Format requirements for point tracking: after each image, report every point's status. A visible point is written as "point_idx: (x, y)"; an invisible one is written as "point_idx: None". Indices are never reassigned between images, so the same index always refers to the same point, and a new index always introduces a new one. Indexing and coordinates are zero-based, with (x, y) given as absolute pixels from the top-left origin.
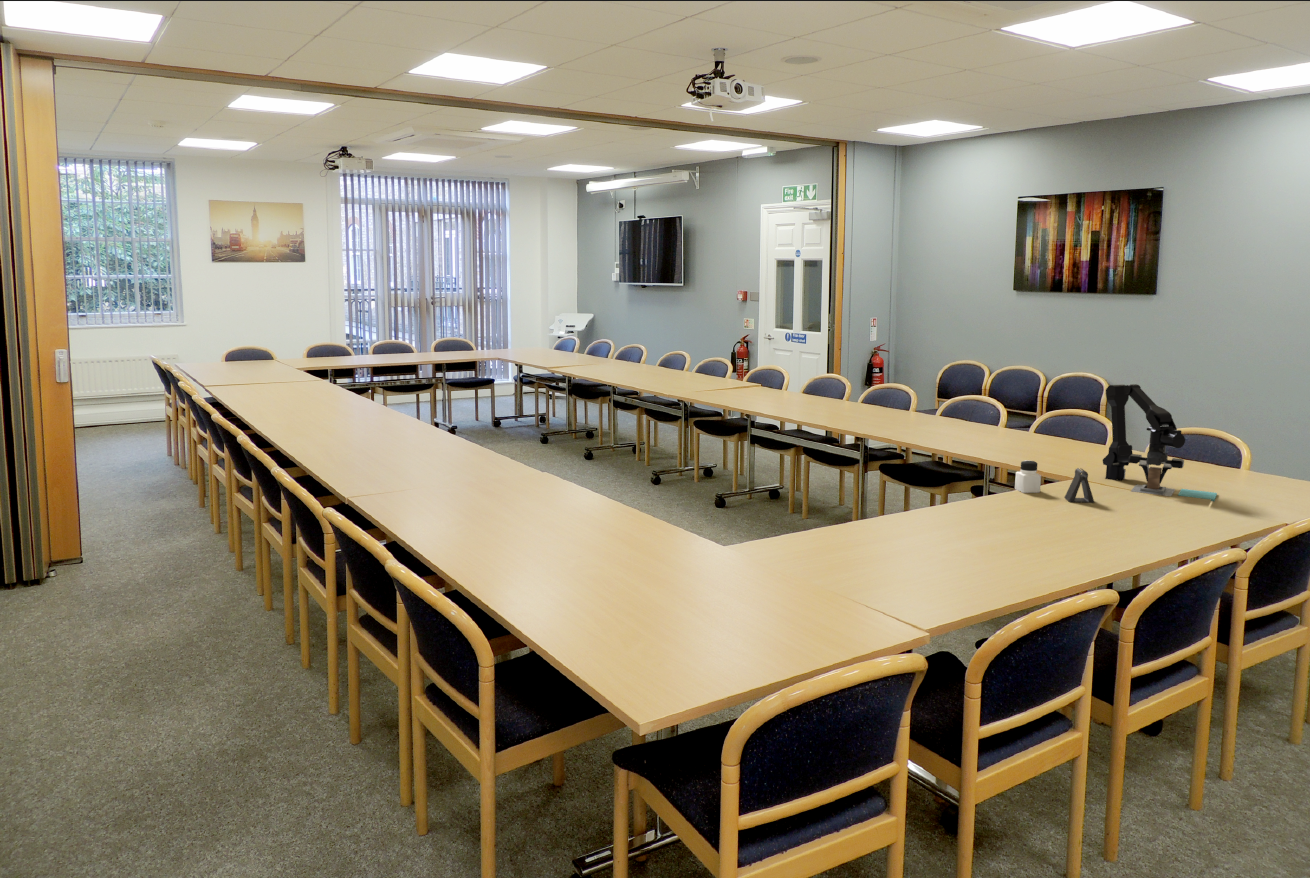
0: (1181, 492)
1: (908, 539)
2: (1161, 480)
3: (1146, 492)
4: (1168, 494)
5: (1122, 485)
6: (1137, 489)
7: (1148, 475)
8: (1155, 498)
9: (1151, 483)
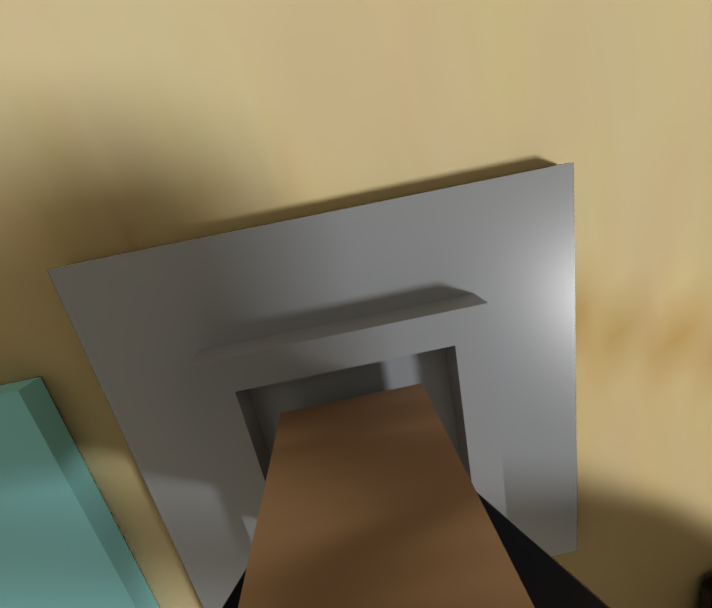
0: (71, 531)
1: None
2: (243, 580)
3: (381, 255)
4: (128, 348)
5: (681, 468)
6: (517, 341)
7: (506, 568)
8: (182, 54)
9: (382, 443)
